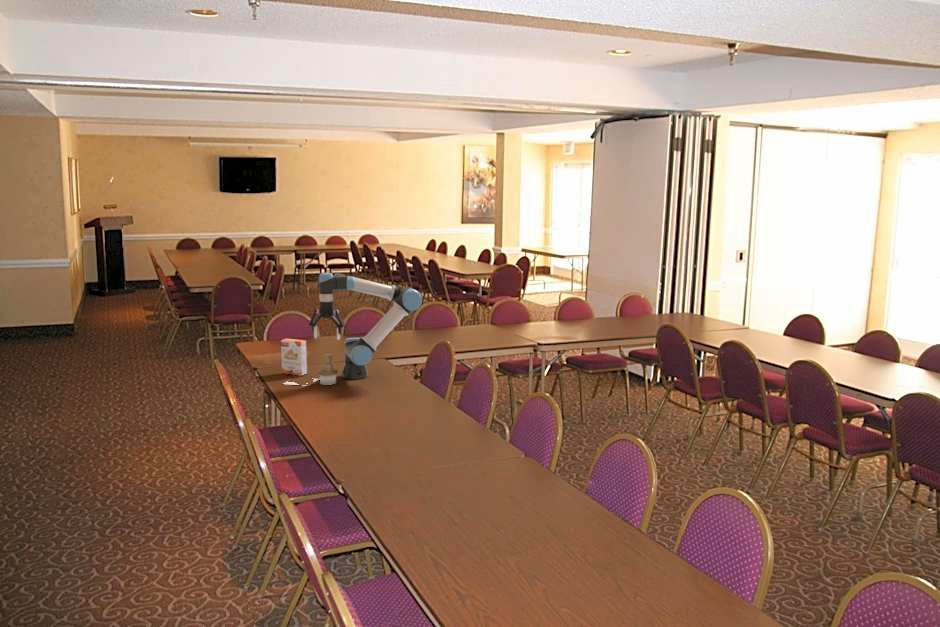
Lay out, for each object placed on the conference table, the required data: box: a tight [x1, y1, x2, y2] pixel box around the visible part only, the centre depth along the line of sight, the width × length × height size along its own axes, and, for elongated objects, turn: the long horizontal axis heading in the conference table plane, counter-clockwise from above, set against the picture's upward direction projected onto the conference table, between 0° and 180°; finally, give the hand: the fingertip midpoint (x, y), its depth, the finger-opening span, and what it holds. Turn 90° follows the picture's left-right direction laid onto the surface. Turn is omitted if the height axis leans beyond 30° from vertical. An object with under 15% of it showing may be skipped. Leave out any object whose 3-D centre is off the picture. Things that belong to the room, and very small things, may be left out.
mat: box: [282, 378, 320, 387], centre depth 440 cm, size 16×16×1 cm
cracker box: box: [280, 338, 308, 376], centre depth 456 cm, size 14×6×21 cm, turn 68°
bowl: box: [319, 374, 337, 386], centre depth 436 cm, size 10×10×6 cm
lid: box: [317, 353, 339, 376], centre depth 435 cm, size 11×11×10 cm
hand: (327, 338), depth 432 cm, fingers open, 13 cm apart
